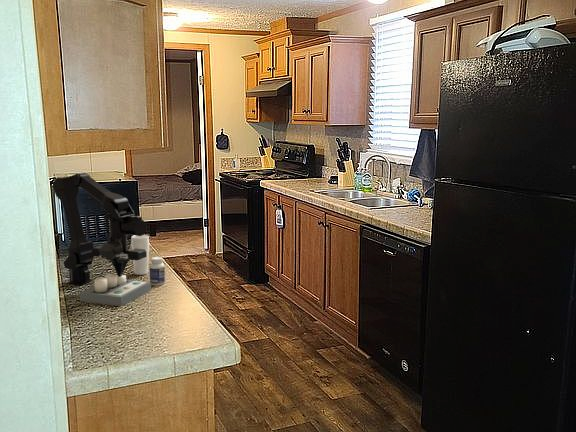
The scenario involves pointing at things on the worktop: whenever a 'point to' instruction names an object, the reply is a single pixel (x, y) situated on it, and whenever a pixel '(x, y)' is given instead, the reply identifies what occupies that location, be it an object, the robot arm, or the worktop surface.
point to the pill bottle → (157, 271)
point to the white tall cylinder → (142, 264)
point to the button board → (116, 293)
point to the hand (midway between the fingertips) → (120, 276)
